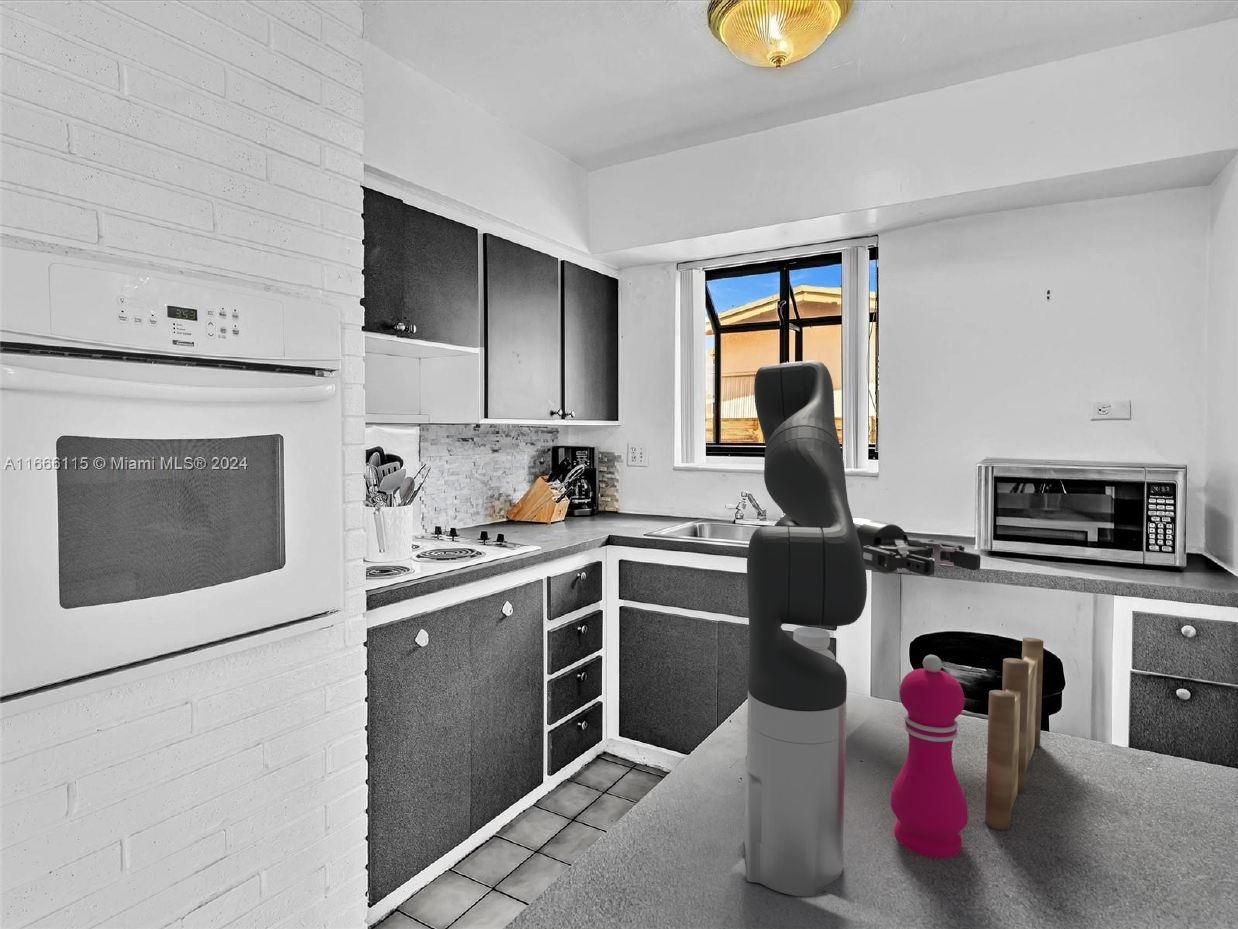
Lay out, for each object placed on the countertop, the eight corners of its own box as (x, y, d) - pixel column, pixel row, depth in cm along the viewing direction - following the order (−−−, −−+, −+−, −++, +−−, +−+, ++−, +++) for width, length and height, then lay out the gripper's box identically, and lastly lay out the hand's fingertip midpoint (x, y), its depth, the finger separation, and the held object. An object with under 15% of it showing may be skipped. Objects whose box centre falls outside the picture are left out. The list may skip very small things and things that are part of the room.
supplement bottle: (811, 730, 101) (813, 641, 100) (774, 713, 107) (776, 629, 106) (844, 719, 105) (846, 633, 104) (807, 704, 111) (809, 622, 110)
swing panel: (1025, 785, 83) (1029, 668, 83) (1002, 779, 85) (1006, 664, 84) (1041, 743, 95) (1044, 639, 94) (1020, 738, 96) (1023, 636, 96)
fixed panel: (1001, 781, 85) (1005, 656, 84) (1026, 787, 83) (1030, 661, 82) (982, 825, 75) (986, 685, 74) (1009, 833, 73) (1014, 691, 73)
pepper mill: (975, 875, 68) (982, 669, 67) (896, 865, 70) (901, 664, 69) (956, 833, 75) (961, 647, 74) (884, 825, 77) (888, 642, 76)
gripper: (833, 522, 107) (917, 541, 92) (904, 517, 113) (994, 534, 98) (831, 571, 108) (915, 598, 93) (902, 564, 114) (992, 588, 99)
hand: (956, 565), depth 96 cm, fingers open, 8 cm apart
